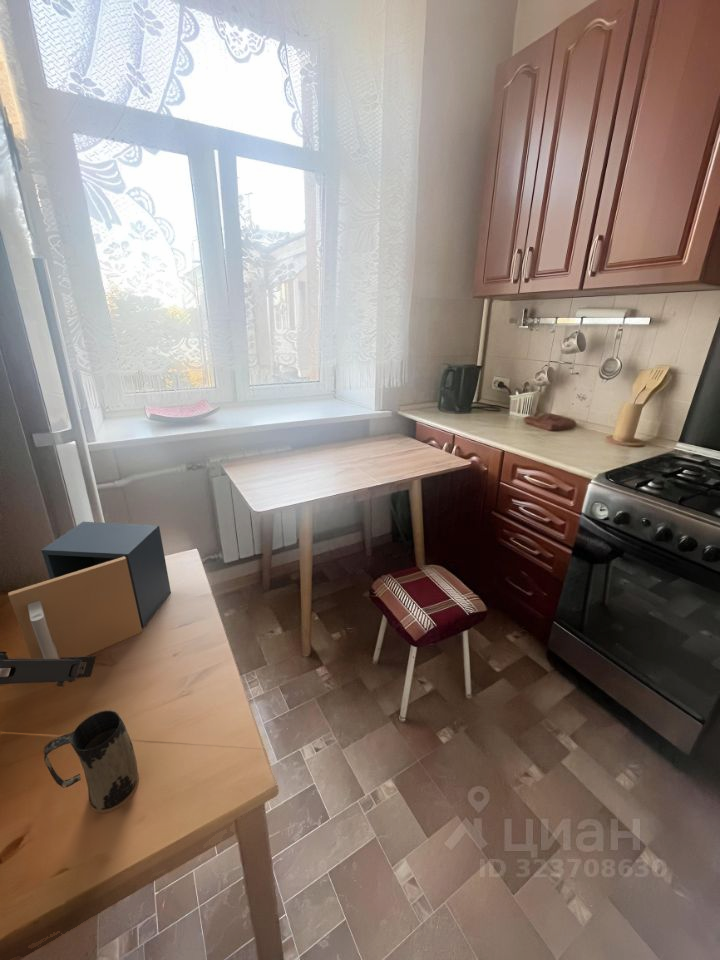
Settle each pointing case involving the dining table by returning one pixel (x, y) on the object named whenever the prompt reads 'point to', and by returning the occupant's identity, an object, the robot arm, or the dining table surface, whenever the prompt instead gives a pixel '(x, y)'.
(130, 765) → the mug
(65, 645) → the cupboard door
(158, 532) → the cupboard
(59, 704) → the dining table surface
